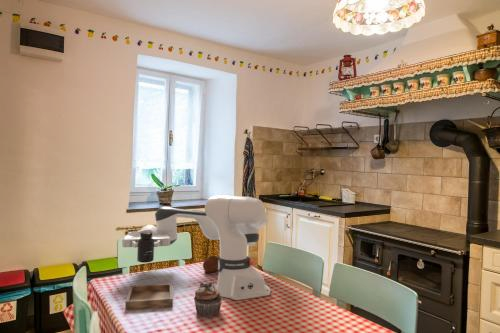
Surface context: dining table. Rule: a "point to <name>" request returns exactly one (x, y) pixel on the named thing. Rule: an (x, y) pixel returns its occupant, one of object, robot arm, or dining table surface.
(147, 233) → the supplement bottle
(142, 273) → the dining table surface
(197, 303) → the cupcake
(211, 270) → the potato
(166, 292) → the tray
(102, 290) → the dining table surface
